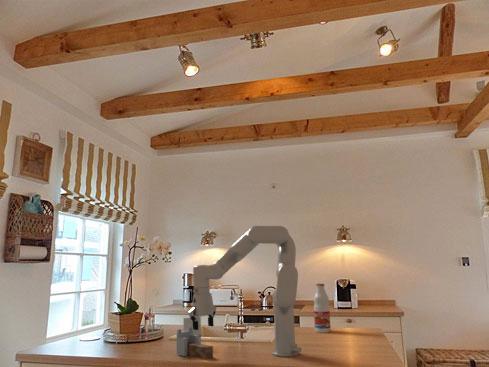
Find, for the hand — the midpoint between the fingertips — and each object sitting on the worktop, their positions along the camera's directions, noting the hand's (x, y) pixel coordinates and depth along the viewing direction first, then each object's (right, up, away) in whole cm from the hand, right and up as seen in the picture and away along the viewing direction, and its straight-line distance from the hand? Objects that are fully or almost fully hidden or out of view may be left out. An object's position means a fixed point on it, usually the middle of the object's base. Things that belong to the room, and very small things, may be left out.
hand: (203, 327), depth 193 cm
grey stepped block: (-8, -14, +5) cm, 17 cm away
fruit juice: (+67, -21, +51) cm, 87 cm away
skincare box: (-8, -17, +21) cm, 28 cm away
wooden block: (-3, -13, 0) cm, 13 cm away
